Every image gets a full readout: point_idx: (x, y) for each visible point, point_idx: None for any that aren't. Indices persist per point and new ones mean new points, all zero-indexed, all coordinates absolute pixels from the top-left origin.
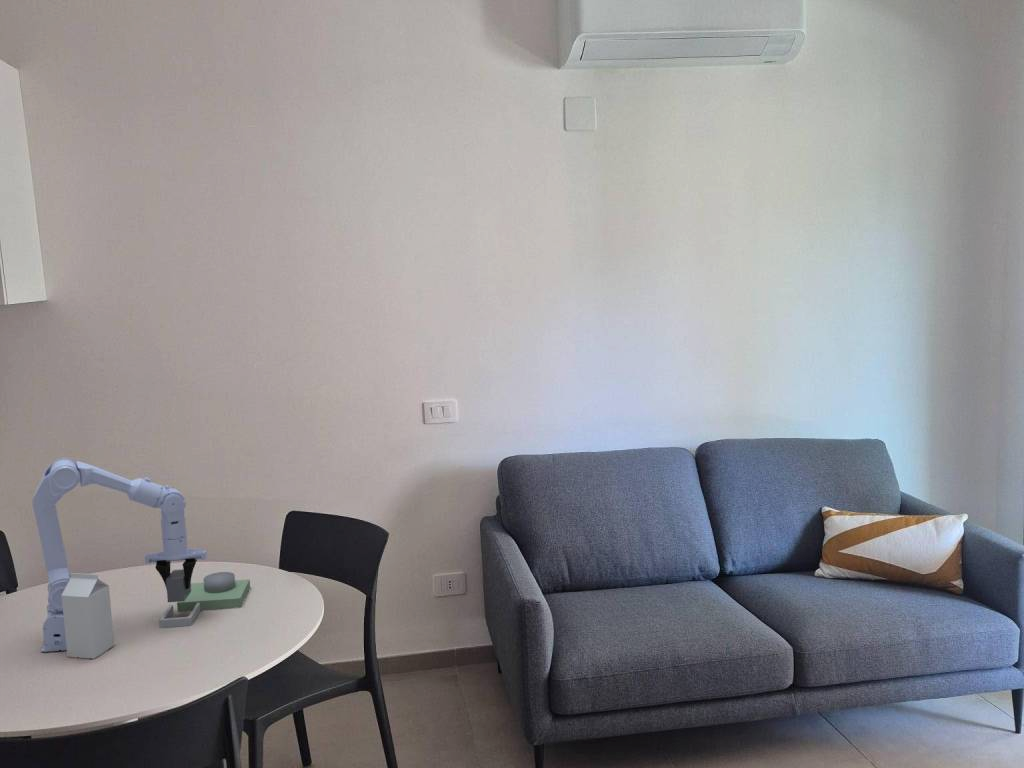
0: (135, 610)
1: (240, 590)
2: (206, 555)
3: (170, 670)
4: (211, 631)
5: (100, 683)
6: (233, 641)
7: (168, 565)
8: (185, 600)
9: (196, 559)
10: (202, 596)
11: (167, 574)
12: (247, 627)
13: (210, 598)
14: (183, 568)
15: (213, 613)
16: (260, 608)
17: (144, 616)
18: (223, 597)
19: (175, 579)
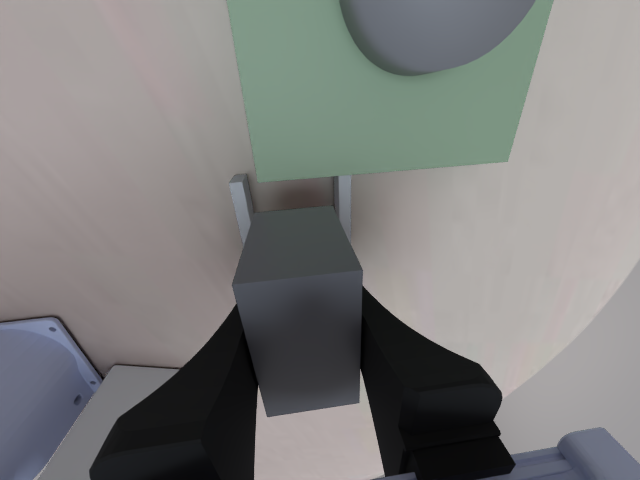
0: (55, 131)
1: (521, 54)
2: (623, 457)
3: (356, 426)
4: (404, 309)
5: (258, 455)
6: (453, 349)
7: (235, 434)
8: (286, 158)
9: (493, 419)
10: (351, 117)
11: (252, 398)
12: (486, 293)
13: (391, 148)
14: (381, 455)
15: (394, 198)
16: (540, 172)
17: (148, 201)
18: (444, 144)
19: (319, 404)
